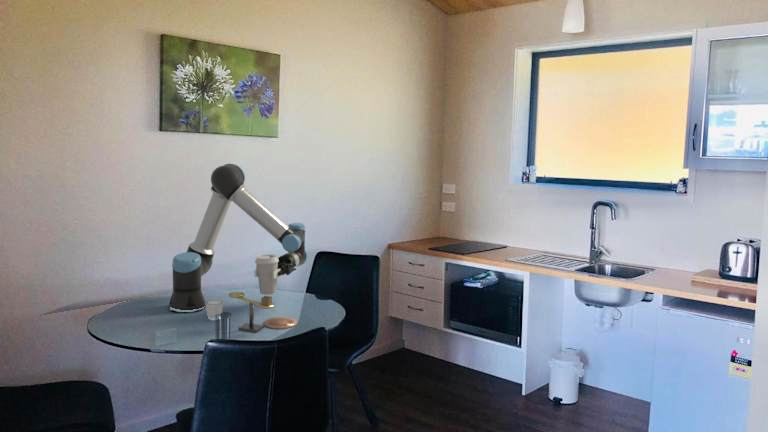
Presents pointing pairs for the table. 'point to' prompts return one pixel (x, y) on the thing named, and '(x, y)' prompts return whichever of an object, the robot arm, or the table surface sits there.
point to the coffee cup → (267, 273)
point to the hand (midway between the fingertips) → (264, 274)
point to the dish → (280, 323)
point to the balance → (265, 304)
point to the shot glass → (214, 308)
